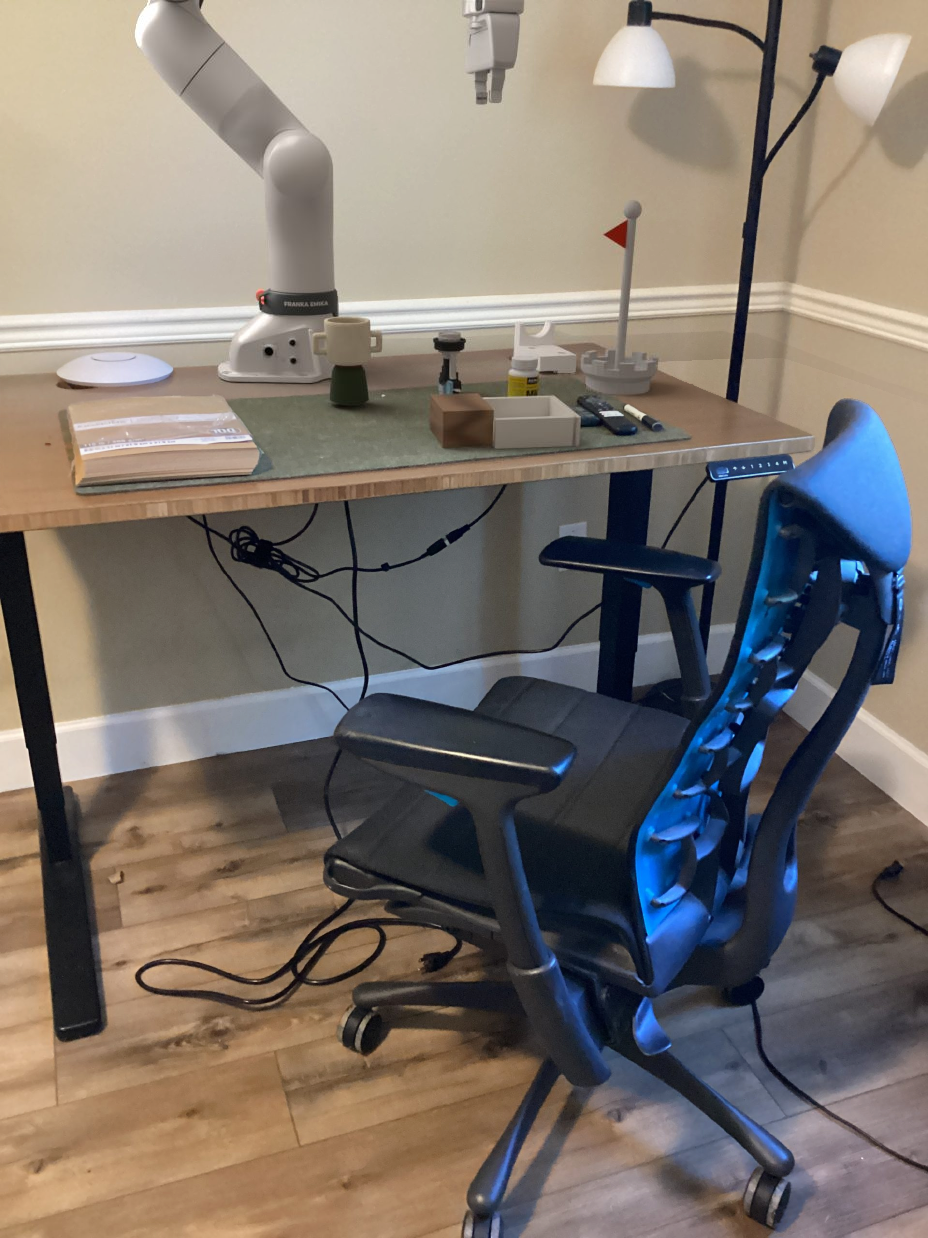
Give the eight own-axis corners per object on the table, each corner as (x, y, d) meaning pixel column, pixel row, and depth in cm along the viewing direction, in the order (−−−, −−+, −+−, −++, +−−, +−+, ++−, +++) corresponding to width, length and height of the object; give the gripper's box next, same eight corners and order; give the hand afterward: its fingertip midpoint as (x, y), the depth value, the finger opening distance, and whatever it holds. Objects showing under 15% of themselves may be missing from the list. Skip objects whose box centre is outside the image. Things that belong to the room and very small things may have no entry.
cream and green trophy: (377, 397, 164) (376, 314, 159) (388, 408, 158) (387, 322, 153) (310, 401, 161) (307, 317, 156) (319, 412, 155) (316, 324, 149)
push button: (473, 399, 165) (475, 336, 161) (443, 401, 163) (444, 338, 159) (456, 390, 170) (457, 329, 166) (427, 392, 168) (427, 331, 164)
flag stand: (627, 377, 183) (643, 197, 170) (670, 392, 172) (691, 202, 160) (565, 382, 178) (577, 197, 165) (605, 398, 167) (621, 202, 154)
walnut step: (442, 447, 139) (443, 411, 137) (429, 428, 148) (430, 394, 145) (492, 445, 140) (493, 409, 138) (476, 427, 149) (477, 393, 147)
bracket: (513, 362, 194) (515, 321, 191) (547, 360, 196) (549, 320, 193) (539, 376, 183) (541, 333, 180) (575, 374, 185) (578, 332, 182)
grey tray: (495, 448, 139) (496, 419, 137) (474, 424, 150) (475, 397, 149) (578, 445, 141) (580, 417, 139) (552, 421, 153) (554, 395, 151)
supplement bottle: (527, 417, 155) (530, 361, 151) (501, 412, 157) (503, 357, 153) (542, 411, 158) (545, 356, 155) (516, 406, 161) (518, 353, 157)
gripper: (457, 10, 167) (455, 104, 173) (486, -5, 149) (483, 101, 155) (494, 12, 168) (491, 105, 174) (527, -3, 150) (523, 102, 156)
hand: (487, 103), depth 164 cm, fingers open, 8 cm apart
